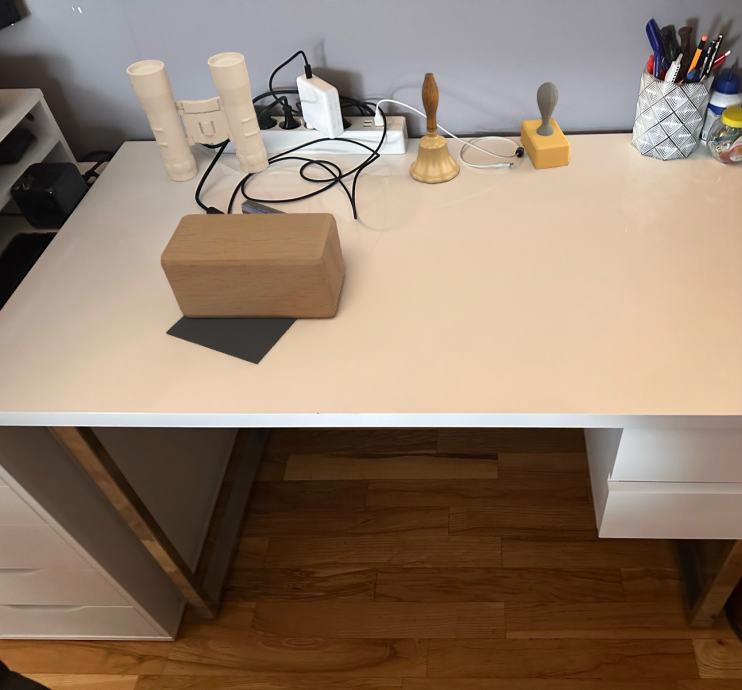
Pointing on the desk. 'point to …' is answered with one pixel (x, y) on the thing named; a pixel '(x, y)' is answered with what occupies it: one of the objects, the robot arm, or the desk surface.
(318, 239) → the block
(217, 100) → the binoculars
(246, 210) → the mini dv tape
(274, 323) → the mat
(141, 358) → the desk surface
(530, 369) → the desk surface
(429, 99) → the hand bell
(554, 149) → the rubber stamp
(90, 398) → the desk surface
